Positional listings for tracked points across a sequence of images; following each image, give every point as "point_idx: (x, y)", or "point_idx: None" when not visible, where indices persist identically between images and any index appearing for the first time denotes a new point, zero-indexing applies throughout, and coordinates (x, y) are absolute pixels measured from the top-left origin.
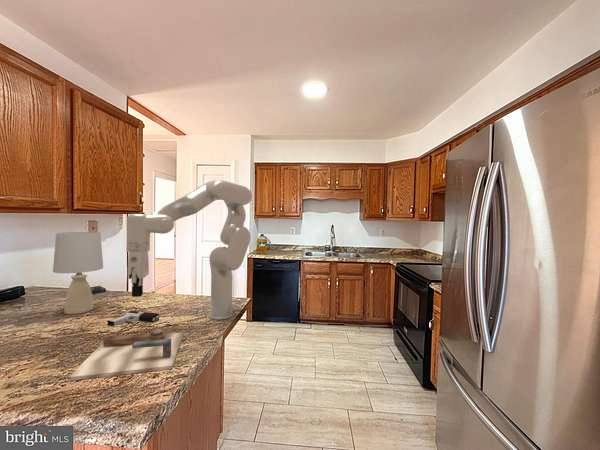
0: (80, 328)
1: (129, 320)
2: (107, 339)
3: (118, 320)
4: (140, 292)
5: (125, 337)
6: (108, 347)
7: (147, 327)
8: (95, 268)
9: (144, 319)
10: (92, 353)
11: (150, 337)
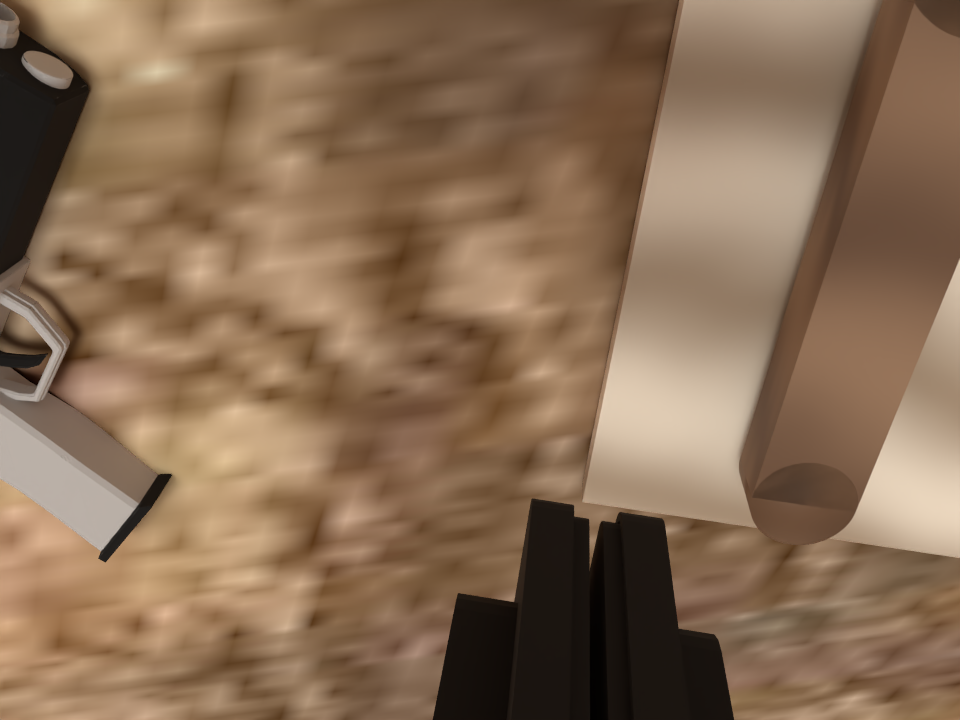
0: (179, 688)
1: (57, 365)
2: (842, 510)
3: (96, 472)
4: (663, 620)
5: (889, 349)
6: None
7: (269, 129)
8: None
9: (33, 201)
10: (922, 545)
11: None
